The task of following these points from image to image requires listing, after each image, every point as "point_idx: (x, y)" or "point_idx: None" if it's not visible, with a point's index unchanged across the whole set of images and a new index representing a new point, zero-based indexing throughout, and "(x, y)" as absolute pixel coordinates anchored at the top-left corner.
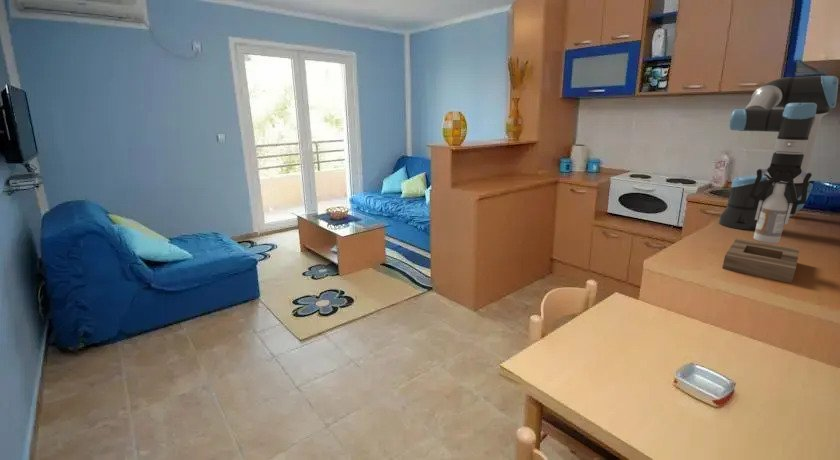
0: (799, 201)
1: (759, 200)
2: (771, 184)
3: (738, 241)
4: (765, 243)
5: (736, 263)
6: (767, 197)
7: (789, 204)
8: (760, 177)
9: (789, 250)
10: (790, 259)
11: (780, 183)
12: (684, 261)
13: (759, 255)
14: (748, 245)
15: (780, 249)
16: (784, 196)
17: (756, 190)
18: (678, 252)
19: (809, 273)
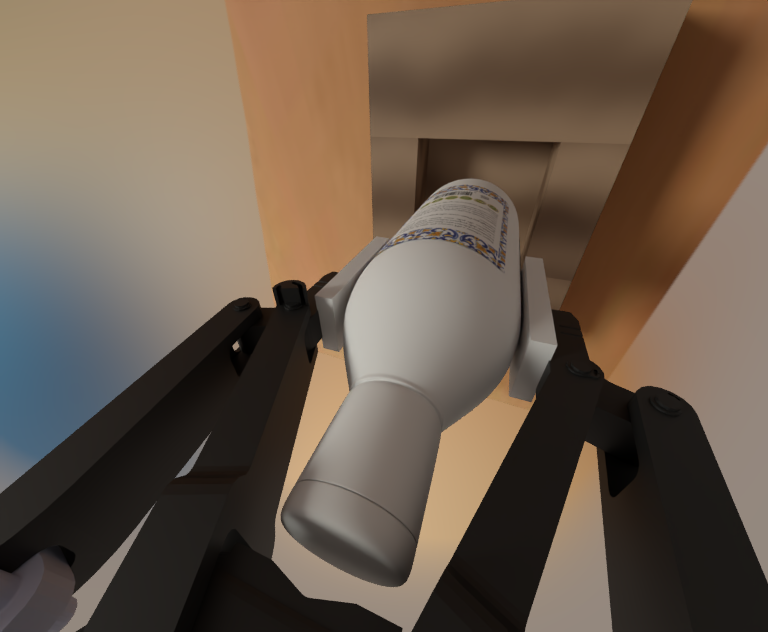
0: (591, 436)
1: (319, 338)
2: (276, 507)
3: (383, 87)
4: (503, 2)
5: None
6: (344, 356)
7: (513, 385)
8: (114, 544)
9: (608, 83)
10: (558, 255)
11: (338, 560)
12: (316, 281)
13: None
14: (424, 137)
15: (560, 100)
16: (455, 419)
17: (227, 355)
18: (279, 214)
19: (651, 178)
